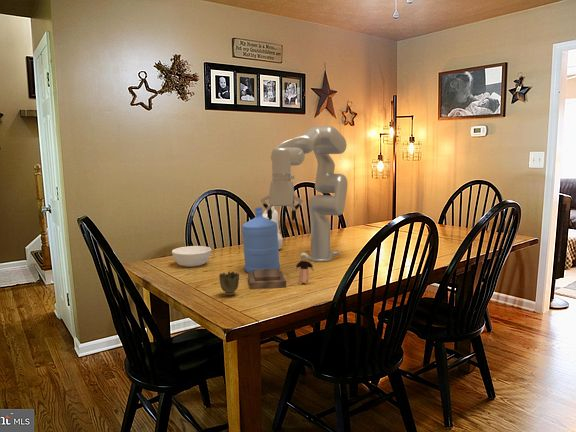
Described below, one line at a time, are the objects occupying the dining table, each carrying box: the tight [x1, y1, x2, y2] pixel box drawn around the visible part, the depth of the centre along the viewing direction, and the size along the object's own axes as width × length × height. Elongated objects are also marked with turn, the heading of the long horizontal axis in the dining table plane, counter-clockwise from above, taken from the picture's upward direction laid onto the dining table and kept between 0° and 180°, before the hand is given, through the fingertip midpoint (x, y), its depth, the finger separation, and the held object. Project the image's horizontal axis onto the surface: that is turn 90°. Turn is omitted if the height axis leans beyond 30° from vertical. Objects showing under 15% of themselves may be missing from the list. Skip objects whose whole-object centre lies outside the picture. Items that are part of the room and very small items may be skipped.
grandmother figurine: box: [294, 252, 315, 285], centre depth 182 cm, size 8×4×13 cm, turn 96°
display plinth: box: [247, 269, 287, 290], centre depth 185 cm, size 14×16×4 cm
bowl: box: [171, 245, 212, 268], centre depth 216 cm, size 18×18×7 cm
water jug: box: [241, 207, 281, 273], centre depth 202 cm, size 16×16×28 cm
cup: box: [218, 271, 240, 297], centre depth 169 cm, size 8×7×8 cm
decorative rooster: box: [262, 204, 284, 250], centre depth 241 cm, size 25×16×25 cm, turn 158°
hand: (281, 219), depth 188 cm, fingers open, 9 cm apart
